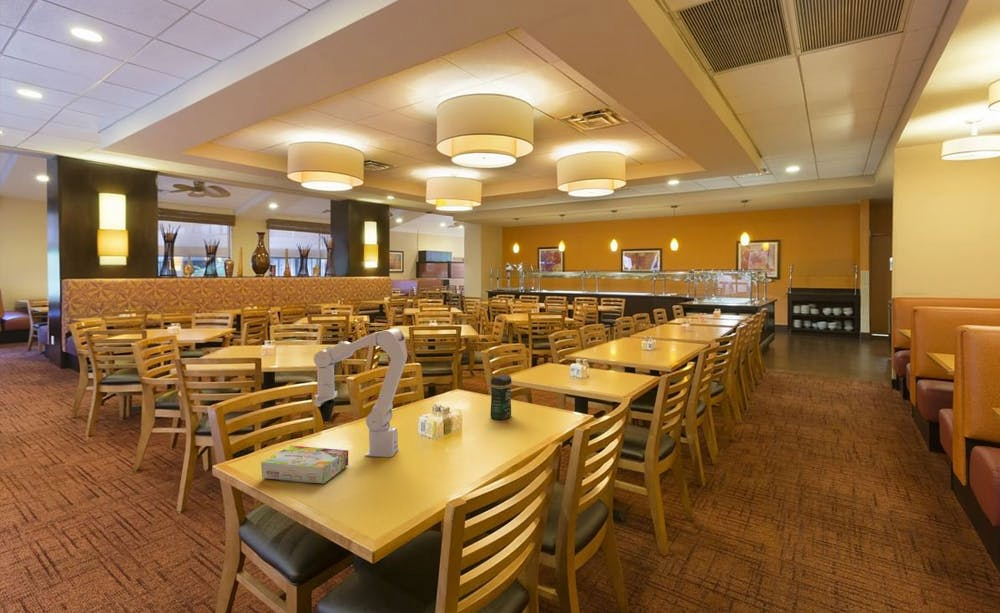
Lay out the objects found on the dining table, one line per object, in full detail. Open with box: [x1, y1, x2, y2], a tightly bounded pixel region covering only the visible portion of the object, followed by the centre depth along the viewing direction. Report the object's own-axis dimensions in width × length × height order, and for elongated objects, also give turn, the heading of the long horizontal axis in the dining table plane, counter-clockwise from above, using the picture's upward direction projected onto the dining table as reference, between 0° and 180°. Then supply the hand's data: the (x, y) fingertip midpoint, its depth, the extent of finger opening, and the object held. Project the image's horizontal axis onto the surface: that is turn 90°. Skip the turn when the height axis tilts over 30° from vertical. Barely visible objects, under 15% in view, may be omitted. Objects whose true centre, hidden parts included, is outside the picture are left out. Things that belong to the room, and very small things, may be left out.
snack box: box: [260, 445, 349, 484], centre depth 153 cm, size 21×6×15 cm
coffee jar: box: [489, 374, 513, 420], centre depth 213 cm, size 10×8×19 cm
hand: (326, 421), depth 173 cm, fingers closed
